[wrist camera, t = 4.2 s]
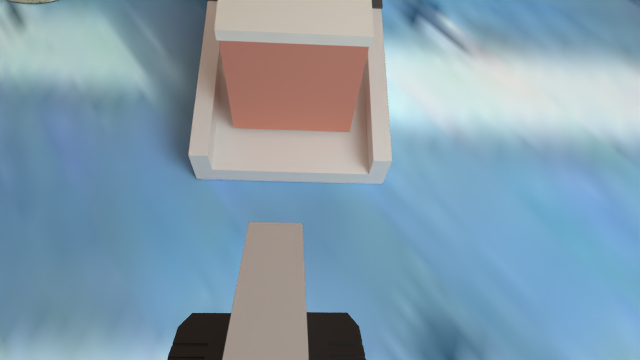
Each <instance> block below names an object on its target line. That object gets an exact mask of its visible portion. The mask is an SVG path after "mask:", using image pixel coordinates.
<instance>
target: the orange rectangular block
mask: <svg viewBox="0 0 640 360" xmlns="http://www.w3.org/2000/svg"><path fill="white" fill-rule="evenodd" d="M214 31H215V36H216V40H219V46H220V52H221V57H222V63H223V69H224V75H225V80H226V86H227V92H228V98H229V103H230V109H231V115H232V121H233V127H234V128H245V129H275V130H306V131H336V132H350V128H351V124H352V120H353V115H354V111H355V106H356V102H357V98H358V93H359V89H360V84H361V80H362V76H363V71H364V67H365V63H366V58H367V54H368V49H369V47H371V46H372V42H373V38H374V33H373V16H372V0H218V2H217V11H216V19H215V28H214Z"/></svg>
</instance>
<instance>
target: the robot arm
mask: <svg viewBox="0 0 640 360" xmlns="http://www.w3.org/2000/svg"><path fill="white" fill-rule="evenodd" d="M168 360H366V359H365V353H364V348H363V346H362V339H361V334H360V329H359V326H358V325H357V324H356V322H355V321H354V320H353V319H352V318H351V317H350V315H349V314H348V313H315V312H306V293H305V272H304V252H303V231H302V223H265V222H249V224H248V229H247V234H246V240H245V245H244V250H243V255H242V260H241V266H240V271H239V276H238V281H237V286H236V292H235V297H234V302H233V307H232V312H231V313H192V314H191V315H190V316H189V317H188V318H187V319H186V320H185V321H184V322H183V323H182V324H181V325H180V326H179V327H178V329H177V332H176V335H175V338H174V341H173V346H172V347H171V350H170V352H169V355H168Z"/></svg>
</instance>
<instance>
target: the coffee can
mask: <svg viewBox="0 0 640 360" xmlns="http://www.w3.org/2000/svg"><path fill="white" fill-rule="evenodd" d="M9 1H13V2H17V3H26V4H38V3H47V2H53V1H57V0H9Z"/></svg>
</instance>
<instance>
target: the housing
mask: <svg viewBox="0 0 640 360" xmlns="http://www.w3.org/2000/svg"><path fill="white" fill-rule="evenodd" d="M207 1H208V3H207V11H206V19H205V27H204V35H203V43H202V51H201V59H200V66H199V74H198V82H197V90H196V98H195V106H194V114H193V122H192V130H191V138H190V145H189V153H188V156H189V159H190V161H191V164H192V167H193V170H194V172H195V175H196V178H197V179H212V180H249V181H286V182H323V183H360V184H383V182H384V179H385V177H386V175H387V172H388V170H389V167H390V165H391V163H392V153H391V139H390V124H389V110H388V96H387V81H386V67H385V53H384V38H383V24H382V7H383V6H382V0H372V16H373V33H374V38H373V42H372V46H371V47H369V49H368V54H367V58H366V63H365V67H364V71H363V76H362V80H361V84H360V89H359V93H358V98H357V102H356V106H355V111H354V115H353V120H352V124H351V128H350V132H336V131H306V130H275V129H245V128H234V127H233V121H232V115H231V109H230V103H229V98H228V92H227V86H226V80H225V75H224V69H223V63H222V57H221V52H220V46H219V40H216V36H215V31H214V28H215V19H216V11H217V2H218V0H207Z"/></svg>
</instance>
